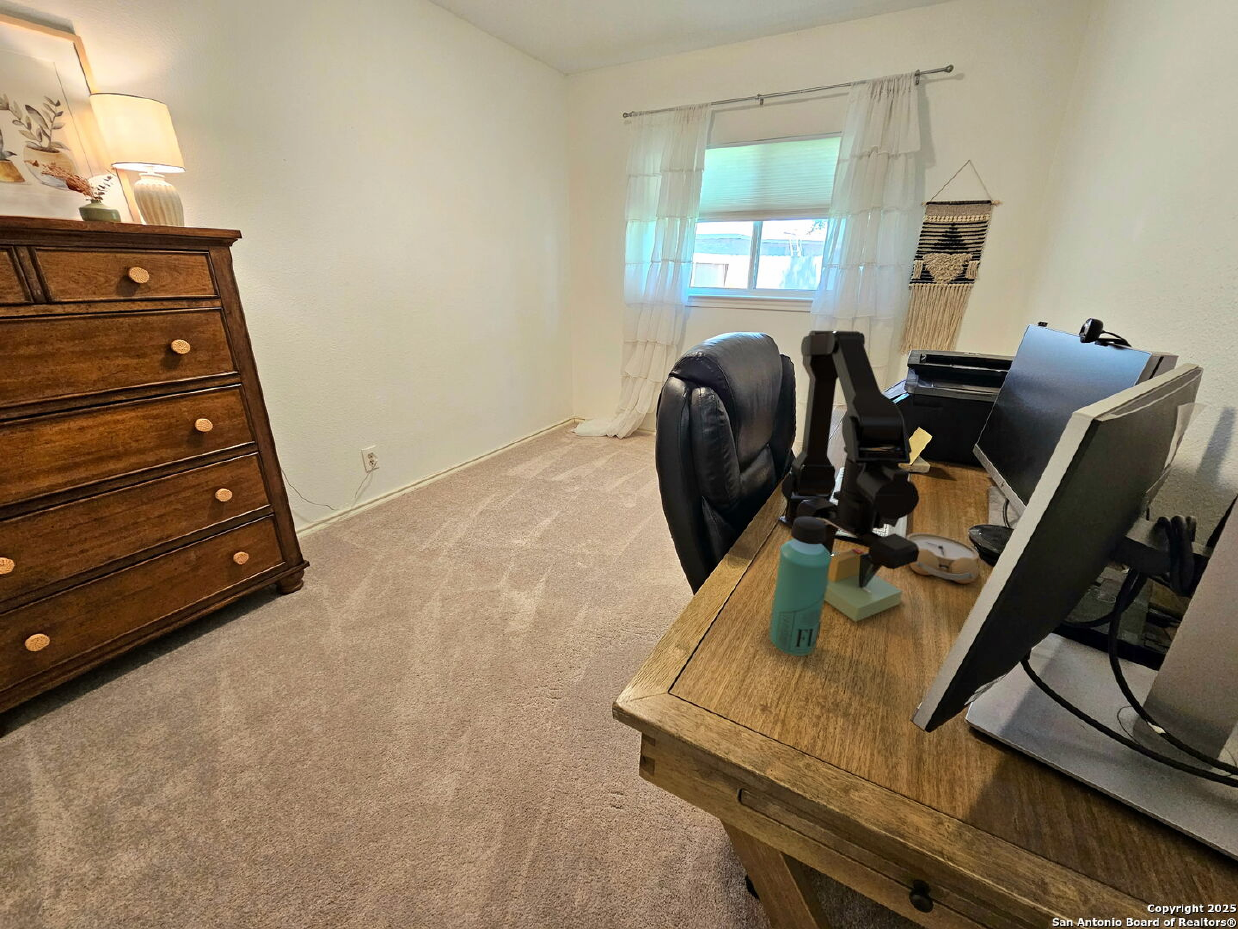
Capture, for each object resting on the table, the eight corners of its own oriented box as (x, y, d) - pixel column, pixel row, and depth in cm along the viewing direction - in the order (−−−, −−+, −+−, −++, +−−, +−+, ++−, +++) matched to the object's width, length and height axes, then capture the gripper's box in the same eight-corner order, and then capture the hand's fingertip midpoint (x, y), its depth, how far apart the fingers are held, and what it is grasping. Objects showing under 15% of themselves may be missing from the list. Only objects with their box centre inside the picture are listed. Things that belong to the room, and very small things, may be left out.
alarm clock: (972, 540, 90) (991, 568, 77) (966, 565, 91) (984, 596, 78) (904, 527, 94) (911, 551, 81) (898, 551, 96) (904, 578, 82)
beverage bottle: (791, 672, 63) (813, 539, 56) (756, 641, 69) (772, 516, 62) (826, 656, 66) (851, 527, 59) (789, 627, 72) (808, 506, 65)
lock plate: (787, 574, 85) (789, 561, 84) (829, 560, 89) (831, 548, 88) (854, 622, 73) (858, 607, 72) (899, 604, 77) (903, 590, 76)
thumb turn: (834, 582, 78) (838, 560, 76) (826, 577, 79) (830, 555, 78) (860, 573, 80) (865, 551, 79) (852, 568, 82) (856, 547, 80)
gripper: (954, 503, 70) (929, 593, 75) (847, 461, 85) (833, 538, 91) (903, 518, 65) (880, 613, 71) (800, 471, 81) (788, 552, 86)
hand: (843, 574), depth 80 cm, fingers open, 7 cm apart
